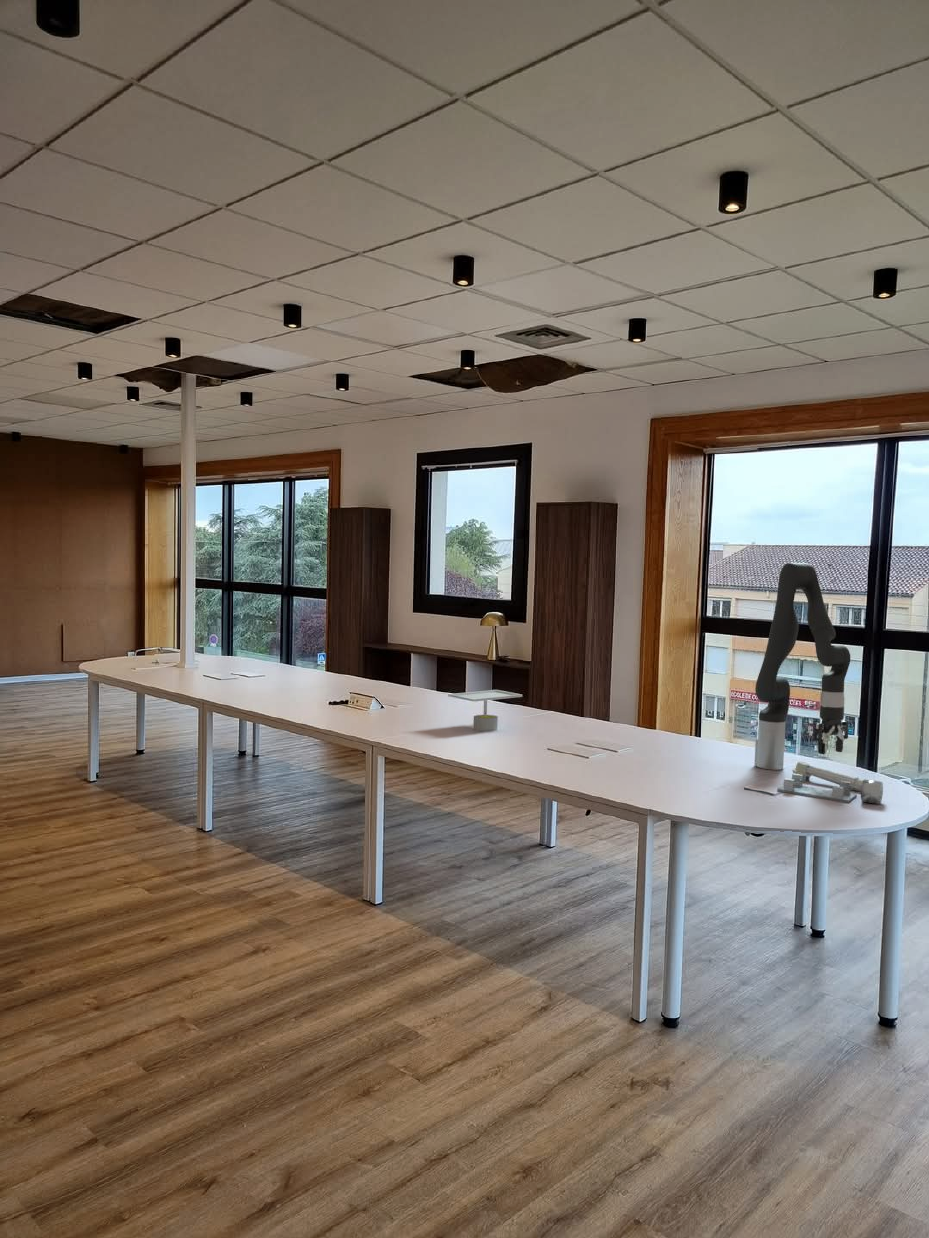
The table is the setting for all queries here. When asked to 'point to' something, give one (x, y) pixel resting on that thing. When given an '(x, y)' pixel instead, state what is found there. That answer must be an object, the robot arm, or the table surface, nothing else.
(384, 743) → the table surface
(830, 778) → the white handheld massager
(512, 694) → the grey flat rectangular-topped stand
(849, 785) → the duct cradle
